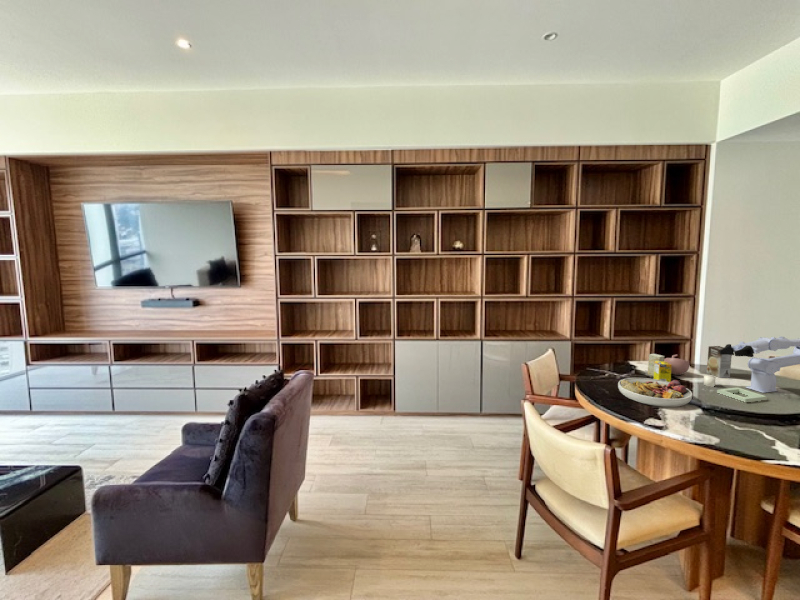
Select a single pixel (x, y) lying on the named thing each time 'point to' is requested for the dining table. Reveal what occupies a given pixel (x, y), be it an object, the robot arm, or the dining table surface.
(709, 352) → the coffee box
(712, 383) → the white egg shape
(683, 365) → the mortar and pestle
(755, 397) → the holder
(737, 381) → the dining table surface
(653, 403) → the bowl
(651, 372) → the skincare box
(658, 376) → the supplement box
